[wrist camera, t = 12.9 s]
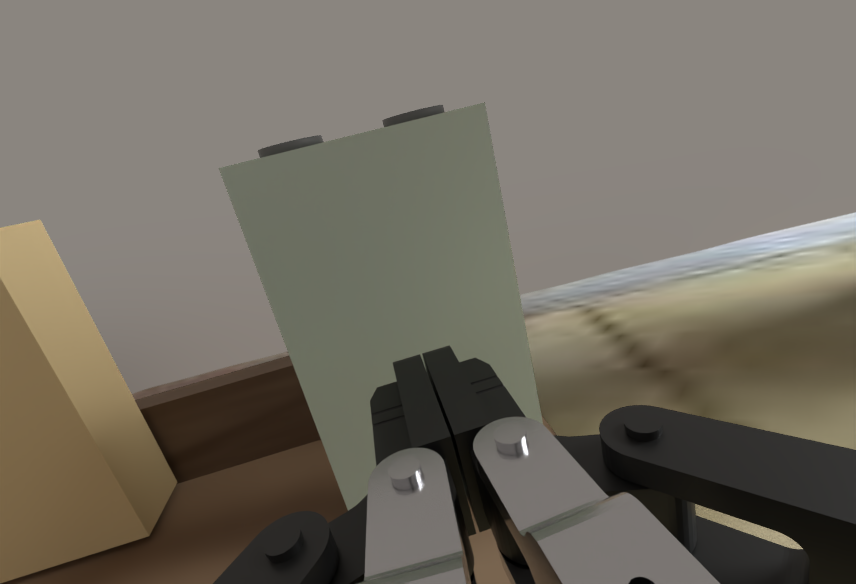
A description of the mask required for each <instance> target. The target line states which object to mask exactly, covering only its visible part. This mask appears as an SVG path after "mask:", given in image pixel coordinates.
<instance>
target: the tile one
mask: <svg viewBox="0 0 856 584" xmlns="http://www.w3.org/2000/svg"><path fill="white" fill-rule="evenodd" d="M176 484H177V480H176V478H175V476H174V474H173V473H172V471H171V469H170V467H169V465H168V463H167V461H166V459H165V457H164V455H163V453H162V452H161V450H160V448H159V446H158V444H157V442H156V440H155V438H154V436H153V434H152V432H151V430H150V429H149V427H148V425H147V423H146V421H145V419H144V417H143V415H142V413H141V411H140V409H139V408H138V406H137V404H136V402H135V400H134V398H133V396H132V394H131V392H130V390H129V389H128V387H127V385H126V383H125V381H124V379H123V377H122V375H121V373H120V371H119V369H118V367H117V365H116V364H115V362H114V360H113V358H112V356H111V354H110V352H109V350H108V348H107V346H106V344H105V343H104V341H103V339H102V337H101V335H100V333H99V331H98V329H97V327H96V325H95V323H94V321H93V320H92V318H91V316H90V314H89V312H88V310H87V308H86V306H85V304H84V302H83V300H82V299H81V297H80V295H79V293H78V291H77V289H76V287H75V285H74V283H73V281H72V279H71V277H70V276H69V274H68V272H67V270H66V268H65V266H64V264H63V262H62V260H61V258H60V256H59V255H58V253H57V251H56V249H55V247H54V245H53V243H52V241H51V239H50V237H49V235H48V233H47V232H46V230H45V228H44V226H43V224H42V222H41V220H36V221H32V222H27V223H21V224H17V225H12V226H7V227H2V228H0V583H3V582H6V581H10V580H13V579H16V578H19V577H22V576H25V575H28V574H32V573H35V572H38V571H41V570H44V569H47V568H51V567H54V566H57V565H60V564H63V563H66V562H69V561H73V560H76V559H79V558H82V557H85V556H88V555H91V554H95V553H98V552H101V551H104V550H107V549H110V548H114V547H117V546H120V545H123V544H126V543H129V542H132V541H136V540H139V539H142V538H145V537H148V536H150V534H151V532H152V530H153V528H154V526H155V524H156V522H157V520H158V519H159V517H160V515H161V513H162V511H163V509H164V507H165V505H166V503H167V501H168V499H169V497H170V496H171V494H172V492H173V490H174V488H175V486H176Z"/></svg>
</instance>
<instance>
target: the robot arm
mask: <svg viewBox="0 0 856 584" xmlns="http://www.w3.org/2000/svg"><path fill="white" fill-rule="evenodd" d="M422 355H423V360H424V363H425V366H424V363H423V361H422V358H421V355H420V354H419V355H415V356H412V357H409V358H405V359H402V360H399V361H395V362H393V367H394V371H395V376H396V380H397V381H396V382H393V383H390V384H386V385H383V386H380V387H377V388H376V390H375V392H374V394H373V396H372V398H371V400H370V407H371V415H372V416H371V417H372V426H373V438H374V448H375V458H376V468H375V469H374V470H373V472H372V474H371V475H370V478H369V482H368V494H367V495H366V496H365V497H364V498H363V499H362V500H361V501H360V502H359V503H358V504H357V505H356V506H355V507H353V508H352V509H350V510H349V511H347V512H346V513H344V514H342V515H341V516H339V517H337V518H336V519H334V520H332V521H331V522H329V523H327V520H326V519H325V518H324V517H323V516H322V515H321V514H319V513H316V512H312V511H300V512H295V513H291V514H288V515H286V516H283V517H281V518H279V519H277V520H276V521H274V522H273V523H271V524H270V525H268V526H267V527H266V528H264V529H263V530H262V531H261V532H260V533H259V534H258V535H257V536H256V537H255V538H254V539H253V540H252V541H251V542H250V543H249V545H248V546H247V547H246V548H245V549H244V550H243V551H242V552H241V553H240V554H239V555H238V557H237V558H236V559H235V560H234V561H233V562H232V563H231V564H230V565H229V566H228V567H227V569H226V570H225V571H224V572H223V573H222V574H221V575H220V576H219V577H218V578H217V579H216V581H215V582H214V583H213V584H477V579H476V575H475V572H474V555H473V551H472V547H471V543H470V540H469V536H471V535H474V534H476V530H475V526H474V522H473V519H472V515H471V511H470V507H471V509H472V512H473V515H474V518H475V521H476V523H477V526H478V529H479V532H482V531H485V530H488V529H491V530H492V533H493V535H494V538H495V540H496V543H497V547H498V551H499V555H500V559H501V563H502V566H503V568H504V571H505V573H506V575H507V577H508V579H509V581H510V583H511V584H856V450H853V449H849V448H844V447H839V446H835V445H830V444H825V443H821V442H816V441H812V440H807V439H802V438H798V437H793V436H788V435H784V434H779V433H775V432H770V431H765V430H761V429H756V428H751V427H747V426H742V425H738V424H733V423H728V422H724V421H719V420H714V419H710V418H705V417H701V416H696V415H691V414H687V413H682V412H677V411H673V410H668V409H663V408H659V407H654V406H646V405H633V406H626V407H622V408H619V409H616V410H614V411H612V412H610V413H609V414H607V415H606V416H605V417H604V418H603V419H602V421H601V423H600V427H599V431H600V435H587V436H573V437H566V436H557V435H552V434H551V432H550V431H549V430H548V429H547V428H546V427H545V426H544V425H543V424H541V423H540V422H538V421H536V420H533V419H530V418H526V416H525V415H524V414H523V412H522V411H521V409H520V408H519V406H518V405H517V403H516V402H515V400H514V399H513V398H512V396H511V395H510V393H509V392H508V390H507V389H506V387H505V386H504V385H503V383H502V382H501V380H500V379H499V377H497V374H496V373H495V372H494V370H493V369H492V367H491V366H490V364H488V363H486V362H484V361H482V360H479V359H477V358H472V359H469V360H465V361H462V362H459V361H458V359H457V357H456V356H455V354H454V352H453V350H452V348H451V347H450V345H449V346H445V347H442V348H439V349H435V350H432V351H429V352H425V353H422ZM425 367H426V369H425ZM466 495H467V496H466ZM467 498H468V500H467ZM468 501H469V503H468ZM469 504H470V507H469ZM695 504H698V505H701V506H704V507H707V508H710V509H712V510H715V511H718V512H721V513H724V514H727V515H730V516H733V517H736V518H739V519H742V520H745V521H748V522H751V523H754V524H757V525H760V526H763V527H766V528H769V529H772V530H775V531H778V532H780V533H782V534H784V535H786V536H788V537H790V538H791V539H793V540H794V541H796V542H797V543H798V544H799V545H800V546H801V547H802V548H803V549H791V548H787V547H784V546H781V545H779V544H776V543H773V542H770V541H767V540H764V539H761V538H759V537H756V536H753V535H750V534H747V533H744V532H741V531H739V530H736V529H733V528H730V527H727V526H724V525H722V524H719V523H716V522H713V521H710V520H707V519H704V518H702V517H699V516H696V511H695Z"/></svg>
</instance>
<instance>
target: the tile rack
mask: <svg viewBox="0 0 856 584" xmlns="http://www.w3.org/2000/svg"><path fill="white" fill-rule="evenodd" d="M135 402H136V404H137V406H138V408H139V409H140V411H141V413H142V415H143V417H144V419H145V421H146V423H147V425H148V427H149V429H150V430H151V432H152V434H153V436H154V438H155V440H156V442H157V444H158V446H159V448H160V450H161V452H162V453H163V455H164V457H165V459H166V461H167V463H168V465H169V467H170V469H171V471H172V473H173V474H174V476H175V478H176V480H177V484H176V486H175V488H174V490H173V492H172V494H171V496H170V497H169V499H168V501H167V503H166V505H165V507H164V509H163V511H162V513H161V515H160V517H159V519H158V520H157V522H156V524H155V526H154V528H153V530H152V532H151V534H150V536H148V537H145V538H142V539H139V540H136V541H132V542H129V543H126V544H123V545H120V546H117V547H114V548H110V549H107V550H104V551H101V552H98V553H95V554H91V555H88V556H85V557H82V558H79V559H76V560H73V561H69V562H66V563H63V564H60V565H57V566H54V567H51V568H47V569H44V570H41V571H38V572H35V573H32V574H28V575H25V576H22V577H19V578H16V579H13V580H10V581H6V582H3V583H0V584H213V583H214V582H215V581H216V579H217V578H218V577H219V576H220V575H221V574H222V573H223V572H224V571H225V570H226V569H227V567H228V566H229V565H230V564H231V563H232V562H233V561H234V560H235V559H236V558H237V557H238V555H239V554H240V553H241V552H242V551H243V550H244V549H245V548H246V547H247V546H248V545H249V543H250V542H251V541H252V540H253V539H254V538H255V537H256V536H257V535H258V534H259V533H260V532H261V531H262V530H263V529H264V528H266V527H267V526H268V525H270V524H271V523H273V522H274V521H276V520H277V519H279V518H281V517H283V516H286V515H288V514H291V513H295V512H300V511H312V512H316V513H319V514H321V515H322V516H323V517H324V518H325V519H326V520H327V523H329V522H331V521H332V520H334V519H336V518H337V517H339V516H341V515H342V514H344V513H346V512H347V511H348V509H347V507H346V504H345V501H344V499H343V496H342V494H341V491H340V488H339V486H338V483H337V480H336V478H335V475H334V472H333V470H332V467H331V464H330V462H329V459H328V456H327V454H326V451H325V448H324V446H323V443H322V441H321V438H320V435H319V433H318V430H317V427H316V425H315V422H314V419H313V417H312V414H311V411H310V409H309V406H308V403H307V401H306V398H305V396H304V393H303V390H302V388H301V385H300V382H299V380H298V377H297V374H296V372H295V369H294V366H293V364H292V361H291V358H290V356H286V357H283V358H280V359H276V360H273V361H269V362H266V363H262V364H259V365H255V366H252V367H248V368H245V369H242V370H238V371H235V372H231V373H228V374H224V375H221V376H217V377H214V378H210V379H207V380H204V381H200V382H197V383H193V384H190V385H186V386H183V387H179V388H176V389H172V390H169V391H166V392H162V393H159V394H155V395H152V396H148V397H145V398H141V399H138V400H135ZM542 421H543V425H544V426H545V427H546V428H547V429H548V430H549V431H550V432H551V434H552V435H556V433H555V432H554V431H553V429H552V428H551V427H550V425H549V424H548V423H547V421H546V420H545V419H544V418H543V416H542ZM466 496H467V495H466ZM467 500H468V498H467ZM468 503H469V501H468ZM469 507H470V504H469ZM470 511H471V515H472V519H473V522H474V526H475V530H476V534H474V535H471V536H469V540H470V543H471V547H472V551H473V555H474V572H475V575H476V579H477V584H511V583H510V581H509V579H508V577H507V575H506V573H505V571H504V568H503V566H502V563H501V559H500V555H499V551H498V547H497V543H496V540H495V538H494V535H493V533H492V530H491V529H488V530H485V531H482V532H479V529H478V526H477V523H476V521H475V518H474V515H473V512H472V509H471V507H470Z"/></svg>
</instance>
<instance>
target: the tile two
mask: <svg viewBox="0 0 856 584" xmlns="http://www.w3.org/2000/svg"><path fill="white" fill-rule="evenodd" d="M383 125H384V128H380V129H376V130H372V131H367V132H364V133H360V134H355V135H352V136H347V137H343V138H340V139H335V140H331V141H327V142H323V140H322V136H321V135H319V136H312V137H307V138H302V139H298V140H293V141H289V142H285V143H281V144H277V145H273V146H270V147H266V148H263V149H260V150H258V153H259V156H260V158H258V159H254V160H250V161H246V162H242V163H238V164H234V165H230V166H226V167H222V168H219V170H220V173H221V176H222V178H223V181H224V183H225V186H226V189H227V192H228V194H229V197H230V199H231V202H232V205H233V207H234V210H235V213H236V215H237V218H238V221H239V223H240V226H241V229H242V231H243V234H244V236H245V239H246V242H247V244H248V247H249V250H250V252H251V255H252V258H253V260H254V263H255V266H256V268H257V271H258V273H259V276H260V279H261V282H262V284H263V287H264V290H265V292H266V295H267V297H268V300H269V303H270V305H271V308H272V311H273V313H274V316H275V319H276V321H277V324H278V327H279V329H280V332H281V335H282V337H283V340H284V342H285V345H286V347H287V350H288V353H289V356H290V358H291V361H292V364H293V366H294V369H295V372H296V374H297V377H298V380H299V382H300V385H301V388H302V390H303V393H304V396H305V398H306V401H307V403H308V406H309V409H310V411H311V414H312V417H313V419H314V422H315V425H316V427H317V430H318V433H319V435H320V438H321V441H322V443H323V446H324V448H325V451H326V454H327V456H328V459H329V462H330V464H331V467H332V470H333V472H334V475H335V478H336V480H337V483H338V486H339V488H340V491H341V494H342V496H343V499H344V501H345V504H346V507H347V509H348V511H349V510H350V509H352V508H353V507H355V506H356V505H357V504H358V503H359V502H360V501H361V500H362V499H363V498H364V497H365V496H366V495H367V494H368V482H369V478H370V475H371V474H372V472H373V470H374V469H375V468H376V458H375V448H374V438H373V426H372V417H371V416H372V415H371V407H370V400H371V398H372V396H373V394H374V392H375V390H376V388H377V387H380V386H383V385H386V384H390V383H393V382H396V381H397V380H396V376H395V371H394V367H393V362H395V361H399V360H402V359H405V358H409V357H412V356H415V355H419V354H420V355H421V358H422V361H423V363H424V360H423V355H422V353H425V352H429V351H432V350H435V349H439V348H442V347H445V346H449V345H450V347H451V348H452V350H453V352H454V354H455V356H456V357H457V359H458V361H459V362H462V361H465V360H469V359H472V358H477V359H479V360H482V361H484V362H486V363H488V364H490V366H491V367H492V369H493V370H494V372H495V373H496V374H497V377H499V379H500V380H501V382H502V383H503V385H504V386H505V387H506V389H507V390H508V392H509V393H510V395H511V396H512V398H513V399H514V400H515V402H516V403H517V405H518V406H519V408H520V409H521V411H522V412H523V414H524V415H525V416H526V418H530V419H533V420H536V421H538V422H540V423H541V424H543V421H542V415H541V410H540V404H539V399H538V393H537V388H536V382H535V377H534V371H533V366H532V360H531V355H530V349H529V344H528V338H527V333H526V327H525V322H524V316H523V311H522V305H521V299H520V294H519V289H518V284H517V277H516V272H515V266H514V261H513V255H512V250H511V245H510V239H509V233H508V228H507V222H506V217H505V211H504V206H503V200H502V195H501V189H500V184H499V179H498V173H497V167H496V161H495V156H494V151H493V146H492V139H491V134H490V129H489V123H488V117H487V112H486V106H485V103H481V104H477V105H473V106H469V107H464V108H461V109H457V110H452V111H448V112H444V108H443V105H438V106H433V107H428V108H423V109H419V110H415V111H411V112H408V113H404V114H400V115H397V116H394V117H390V118H387V119H384V120H383ZM424 366H425V363H424ZM425 369H426V367H425Z"/></svg>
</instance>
